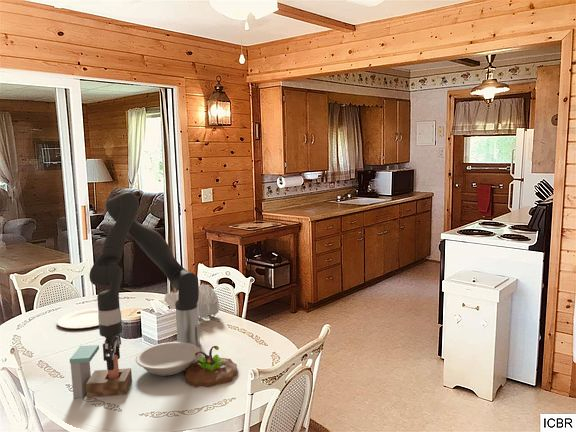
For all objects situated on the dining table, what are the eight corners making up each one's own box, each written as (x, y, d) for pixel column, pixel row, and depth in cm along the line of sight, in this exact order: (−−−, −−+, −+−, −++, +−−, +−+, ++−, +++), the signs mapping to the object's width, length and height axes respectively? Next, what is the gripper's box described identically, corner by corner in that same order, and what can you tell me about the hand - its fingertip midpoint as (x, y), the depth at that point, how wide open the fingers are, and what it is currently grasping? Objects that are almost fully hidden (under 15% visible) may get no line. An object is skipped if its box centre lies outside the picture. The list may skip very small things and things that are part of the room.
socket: (132, 380, 174) (131, 368, 173) (125, 394, 164) (124, 381, 164) (95, 383, 173) (94, 370, 172) (87, 397, 163) (86, 383, 162)
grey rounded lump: (219, 323, 242) (178, 335, 224) (200, 302, 252) (159, 312, 234) (229, 295, 235) (187, 305, 217) (209, 274, 245) (168, 282, 227)
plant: (241, 383, 171) (240, 354, 170) (186, 391, 167) (185, 361, 165) (233, 360, 191) (232, 333, 189) (184, 366, 186) (183, 339, 184)
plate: (98, 307, 260) (98, 304, 259) (131, 317, 243) (130, 314, 242) (45, 324, 236) (45, 320, 236) (77, 336, 219) (77, 332, 219)
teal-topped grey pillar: (101, 382, 173) (98, 344, 172) (92, 397, 163) (89, 357, 161) (83, 383, 173) (80, 346, 171) (73, 399, 162) (69, 359, 160)
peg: (110, 386, 170) (108, 354, 169) (121, 385, 171) (118, 354, 169) (108, 391, 167) (105, 359, 165) (118, 390, 167) (116, 358, 166)
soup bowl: (130, 365, 187) (129, 350, 186) (189, 352, 198) (188, 337, 198) (144, 391, 166) (143, 374, 165) (209, 374, 178) (208, 358, 177)
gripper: (104, 314, 172) (108, 356, 174) (93, 328, 158) (97, 374, 160) (125, 312, 172) (129, 354, 175) (116, 327, 158) (119, 372, 161)
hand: (113, 364), depth 167 cm, fingers open, 8 cm apart
